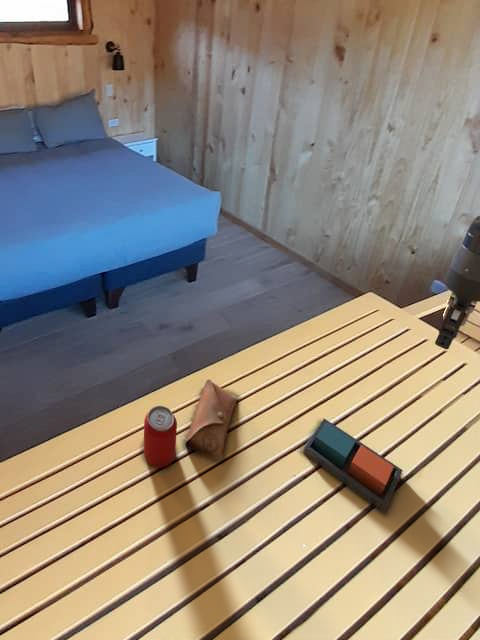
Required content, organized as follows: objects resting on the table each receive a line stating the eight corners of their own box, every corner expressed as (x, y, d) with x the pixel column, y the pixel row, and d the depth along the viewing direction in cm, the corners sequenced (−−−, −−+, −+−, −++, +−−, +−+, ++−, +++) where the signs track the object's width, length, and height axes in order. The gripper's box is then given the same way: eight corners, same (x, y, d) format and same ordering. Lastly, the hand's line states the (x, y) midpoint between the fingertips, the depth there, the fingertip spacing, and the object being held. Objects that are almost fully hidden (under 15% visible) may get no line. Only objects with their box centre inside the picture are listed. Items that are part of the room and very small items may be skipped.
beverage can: (179, 447, 88) (182, 411, 82) (166, 475, 83) (169, 439, 77) (152, 433, 91) (153, 397, 85) (138, 459, 86) (138, 423, 80)
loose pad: (388, 478, 81) (394, 466, 79) (379, 497, 78) (385, 485, 76) (356, 456, 85) (361, 444, 83) (347, 473, 82) (352, 461, 80)
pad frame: (398, 478, 81) (402, 470, 80) (382, 514, 76) (386, 506, 74) (321, 425, 92) (323, 417, 90) (302, 454, 86) (304, 446, 85)
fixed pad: (351, 453, 85) (355, 441, 83) (341, 469, 82) (346, 458, 80) (322, 433, 89) (326, 422, 87) (312, 448, 86) (316, 437, 84)
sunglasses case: (223, 464, 84) (210, 440, 83) (194, 462, 88) (180, 440, 87) (239, 396, 98) (227, 375, 97) (213, 397, 102) (201, 377, 101)
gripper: (497, 296, 67) (461, 365, 74) (510, 262, 75) (477, 327, 83) (442, 277, 72) (414, 343, 79) (460, 247, 80) (433, 309, 88)
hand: (446, 335), depth 81 cm, fingers open, 8 cm apart
